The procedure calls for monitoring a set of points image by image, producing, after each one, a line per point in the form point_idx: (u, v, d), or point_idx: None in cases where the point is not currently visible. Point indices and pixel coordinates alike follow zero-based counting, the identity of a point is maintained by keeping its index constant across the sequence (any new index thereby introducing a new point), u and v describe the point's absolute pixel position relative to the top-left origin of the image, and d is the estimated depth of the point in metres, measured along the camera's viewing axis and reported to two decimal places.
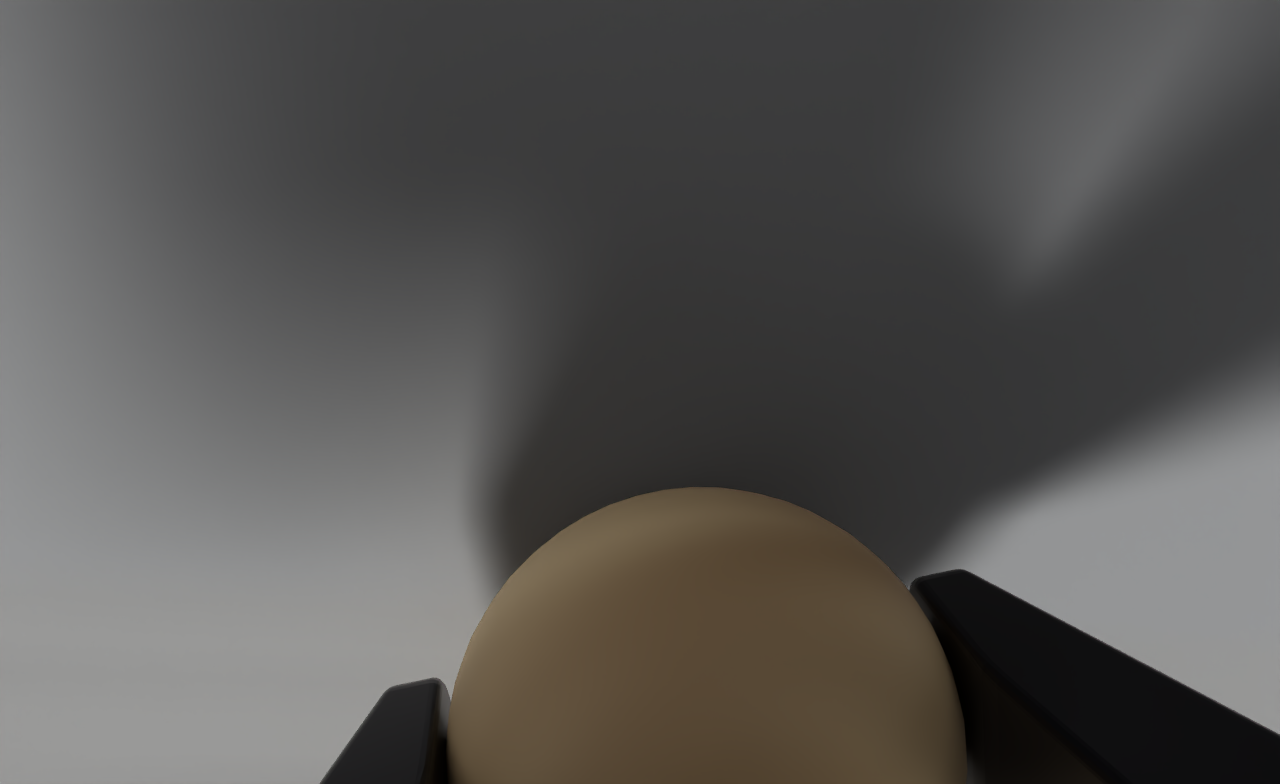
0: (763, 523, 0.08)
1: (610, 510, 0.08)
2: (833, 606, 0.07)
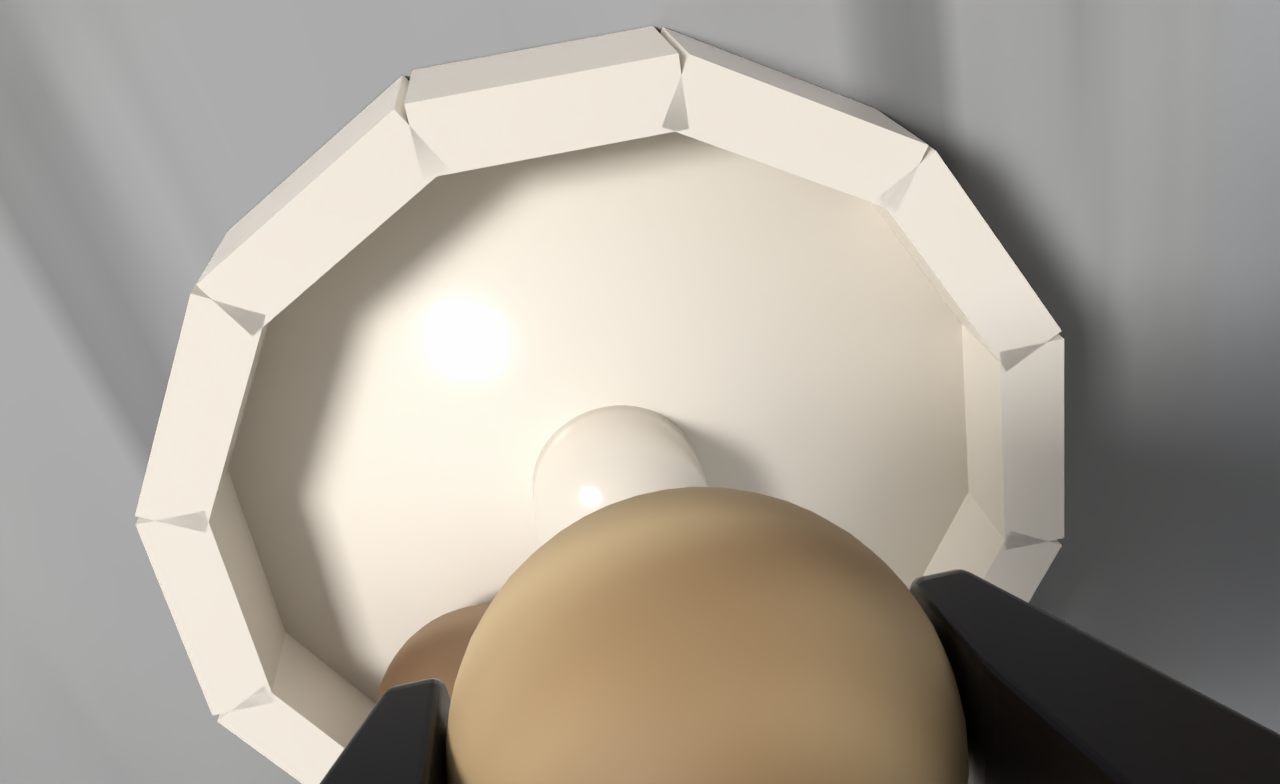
0: (764, 523, 0.08)
1: (610, 510, 0.08)
2: (835, 607, 0.07)
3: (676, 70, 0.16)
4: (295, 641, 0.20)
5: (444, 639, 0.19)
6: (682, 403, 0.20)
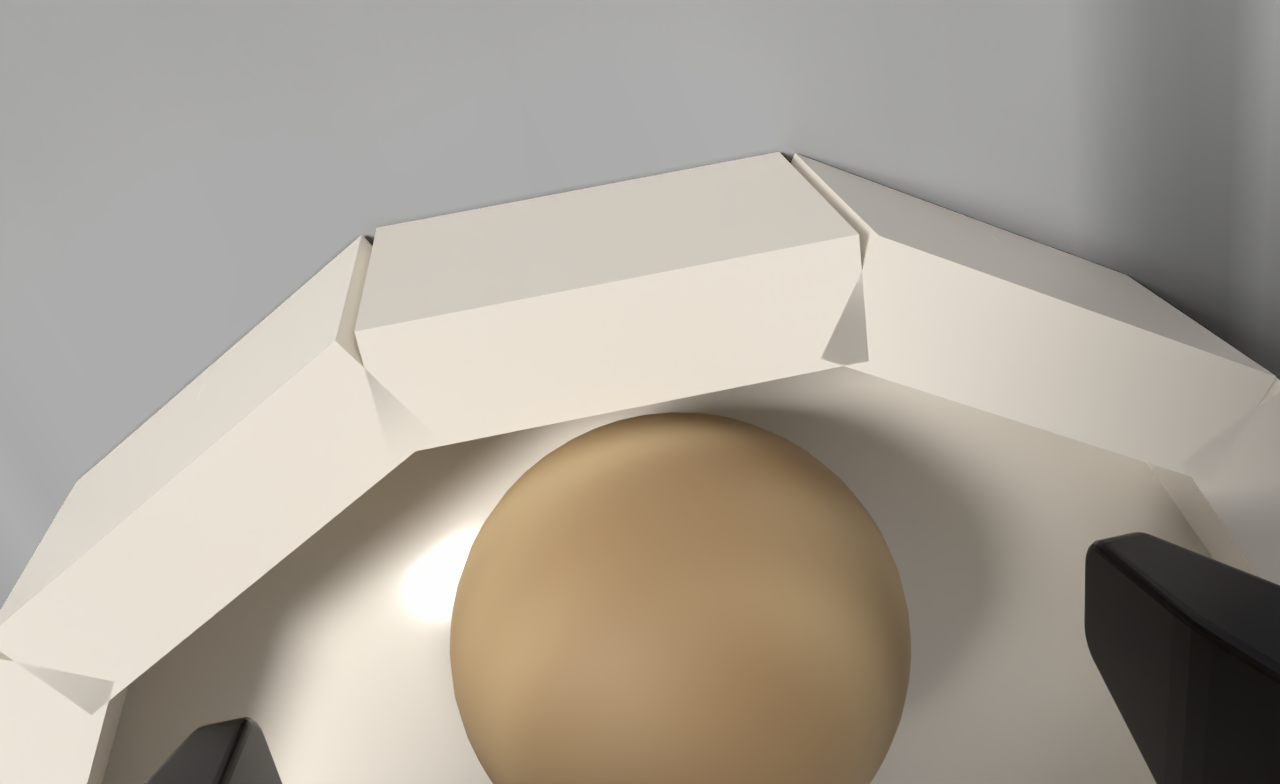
0: (729, 437, 0.09)
1: (595, 431, 0.09)
2: (790, 505, 0.08)
3: (853, 263, 0.09)
4: None
5: None
6: None
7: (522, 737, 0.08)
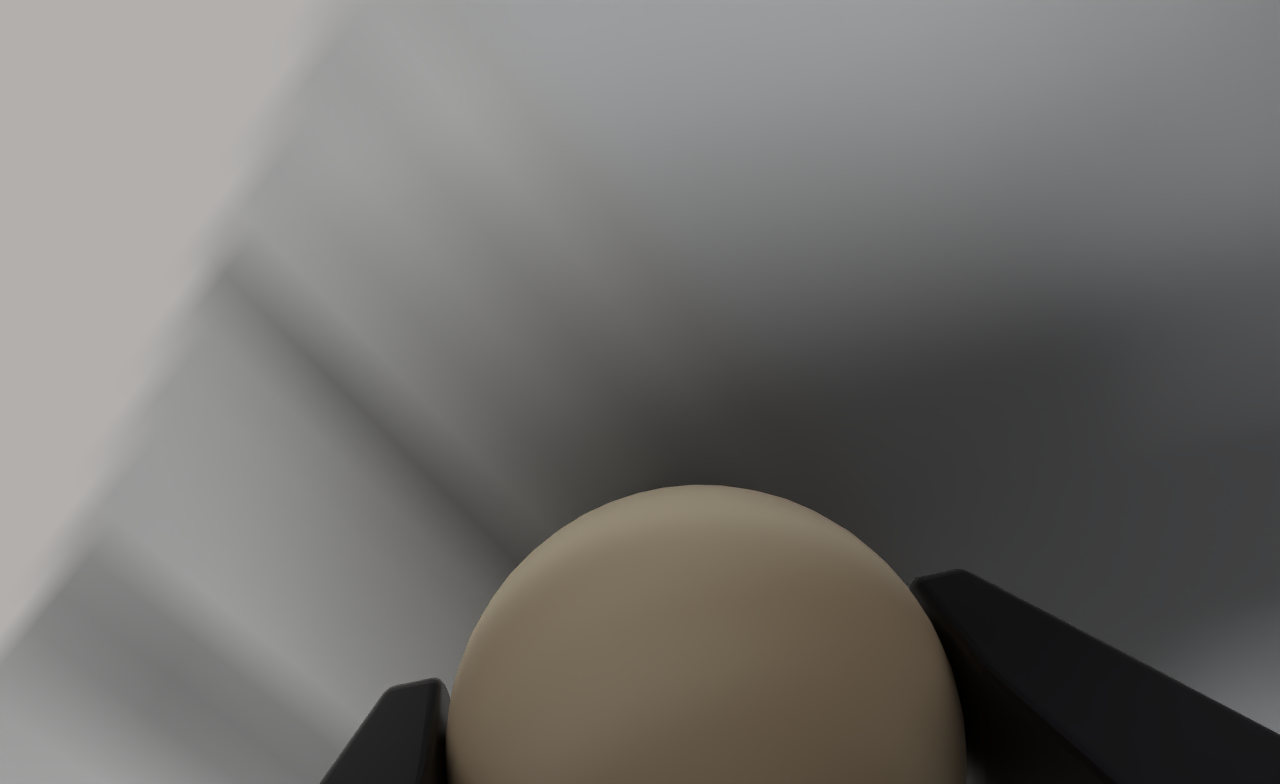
0: None
1: None
2: None
3: None
4: None
5: None
6: None
7: None
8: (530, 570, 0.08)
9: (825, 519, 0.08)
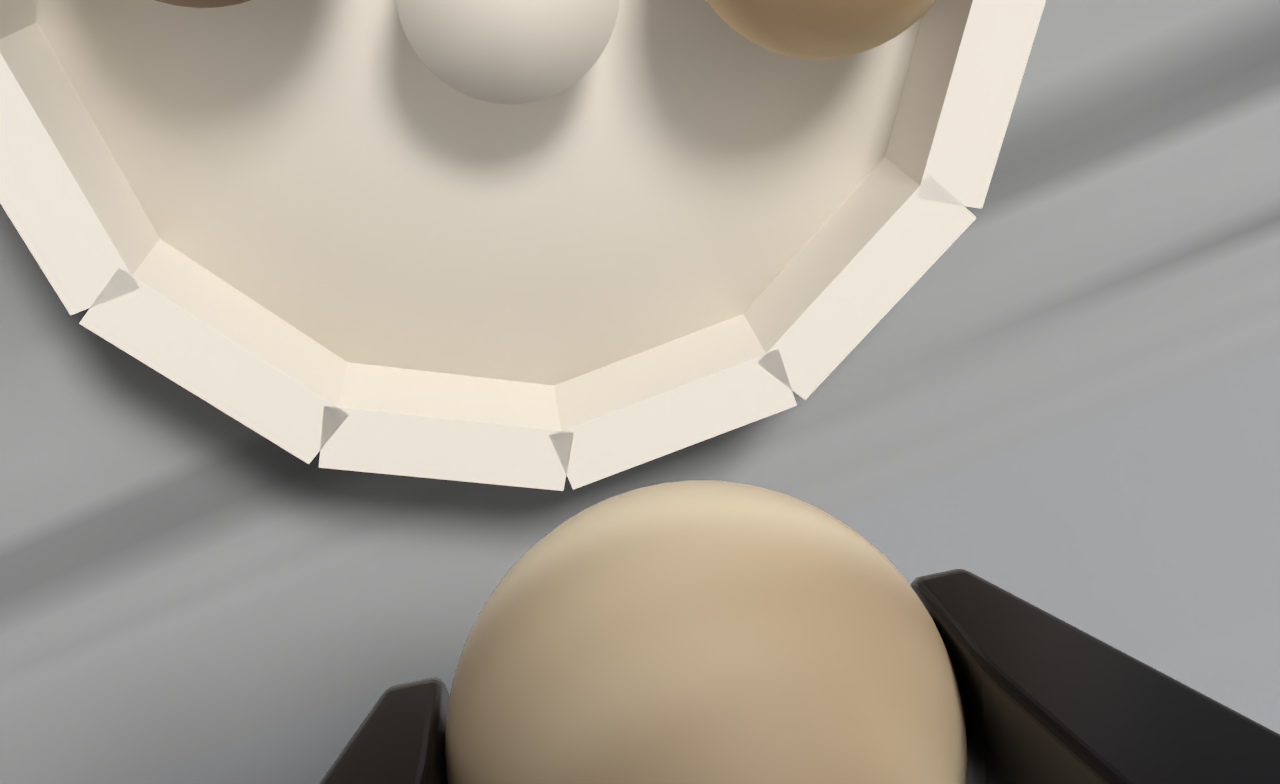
0: None
1: None
2: None
3: None
4: None
5: None
6: (617, 36, 0.17)
7: None
8: (530, 564, 0.08)
9: (826, 514, 0.08)
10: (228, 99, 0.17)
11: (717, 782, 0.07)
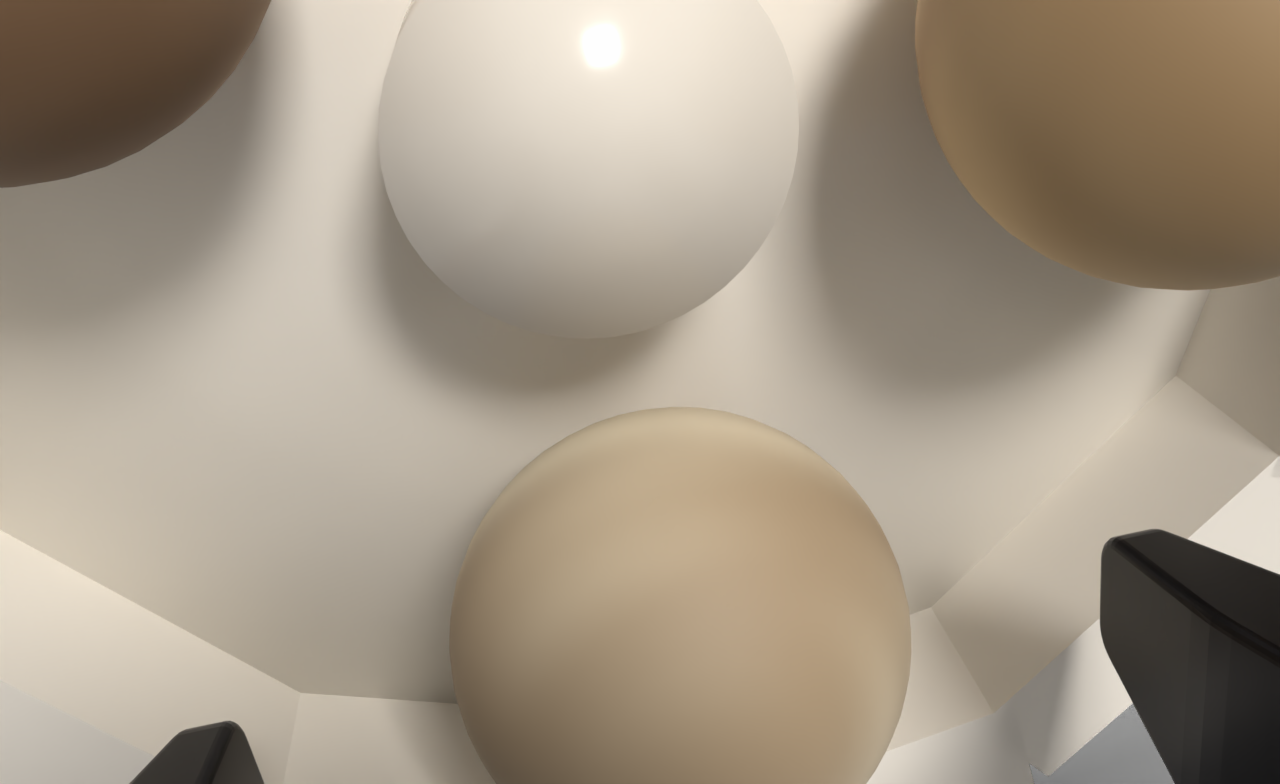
0: None
1: None
2: None
3: None
4: None
5: None
6: None
7: None
8: (523, 478, 0.09)
9: (786, 434, 0.09)
10: (90, 299, 0.10)
11: (688, 650, 0.08)
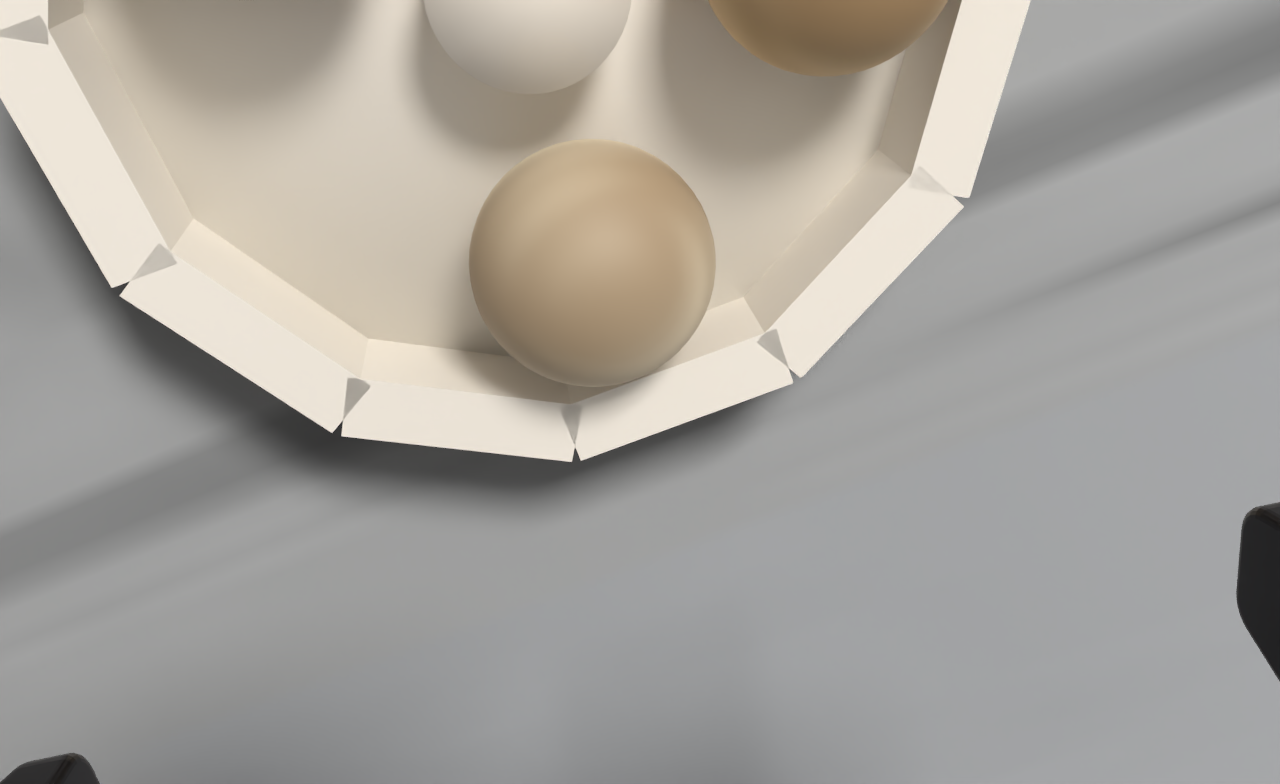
0: None
1: None
2: None
3: None
4: None
5: None
6: (628, 32, 0.18)
7: None
8: (507, 174, 0.17)
9: None
10: (261, 87, 0.18)
11: (598, 227, 0.16)
